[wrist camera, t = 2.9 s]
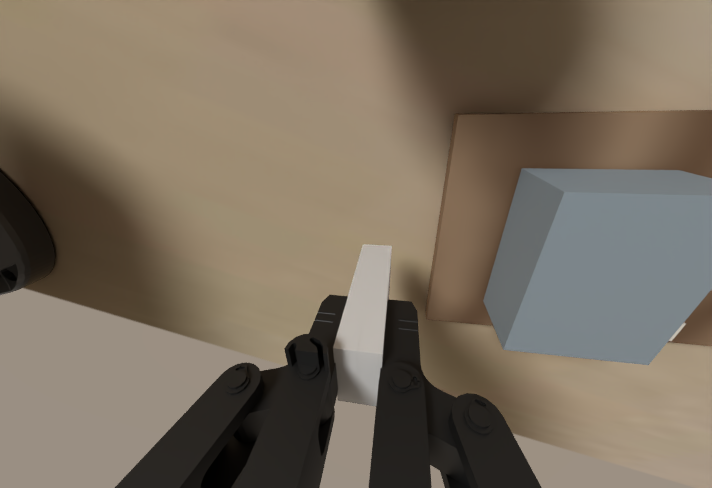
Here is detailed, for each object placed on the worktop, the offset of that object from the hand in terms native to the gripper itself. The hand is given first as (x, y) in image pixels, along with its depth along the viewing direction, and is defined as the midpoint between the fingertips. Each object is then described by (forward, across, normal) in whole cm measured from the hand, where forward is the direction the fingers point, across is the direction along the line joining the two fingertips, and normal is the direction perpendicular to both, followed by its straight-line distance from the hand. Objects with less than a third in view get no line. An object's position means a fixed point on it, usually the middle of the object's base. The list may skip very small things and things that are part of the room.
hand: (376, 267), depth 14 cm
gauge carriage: (+3, +12, -1) cm, 12 cm away
